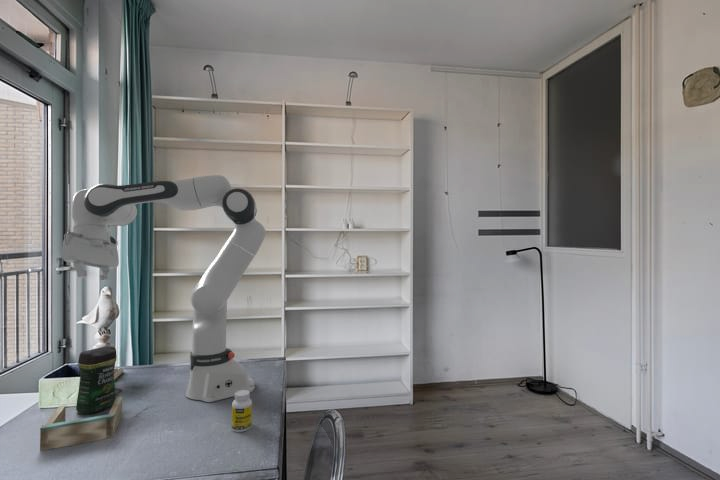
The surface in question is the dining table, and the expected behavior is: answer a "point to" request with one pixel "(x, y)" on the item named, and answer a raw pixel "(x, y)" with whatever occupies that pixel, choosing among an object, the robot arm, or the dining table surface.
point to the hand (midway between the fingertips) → (93, 278)
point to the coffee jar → (96, 380)
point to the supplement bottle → (241, 411)
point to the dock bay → (78, 428)
